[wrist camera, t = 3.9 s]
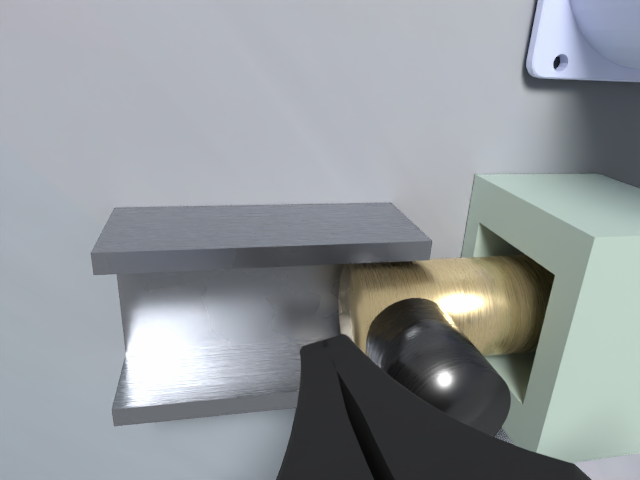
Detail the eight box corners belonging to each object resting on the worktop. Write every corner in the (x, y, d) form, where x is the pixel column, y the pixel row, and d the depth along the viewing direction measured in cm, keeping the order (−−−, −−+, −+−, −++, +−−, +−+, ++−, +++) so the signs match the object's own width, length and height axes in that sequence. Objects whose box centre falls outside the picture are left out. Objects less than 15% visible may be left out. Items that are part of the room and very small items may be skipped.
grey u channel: (391, 202, 17) (432, 241, 14) (376, 336, 19) (410, 395, 16) (114, 207, 15) (90, 253, 12) (130, 355, 17) (113, 426, 14)
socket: (598, 173, 19) (759, 231, 13) (553, 342, 21) (672, 448, 16) (475, 174, 18) (594, 237, 12) (445, 352, 20) (532, 468, 15)
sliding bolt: (581, 237, 18) (753, 331, 12) (561, 314, 19) (709, 431, 14) (341, 246, 16) (413, 361, 11) (336, 330, 18) (397, 474, 12)
